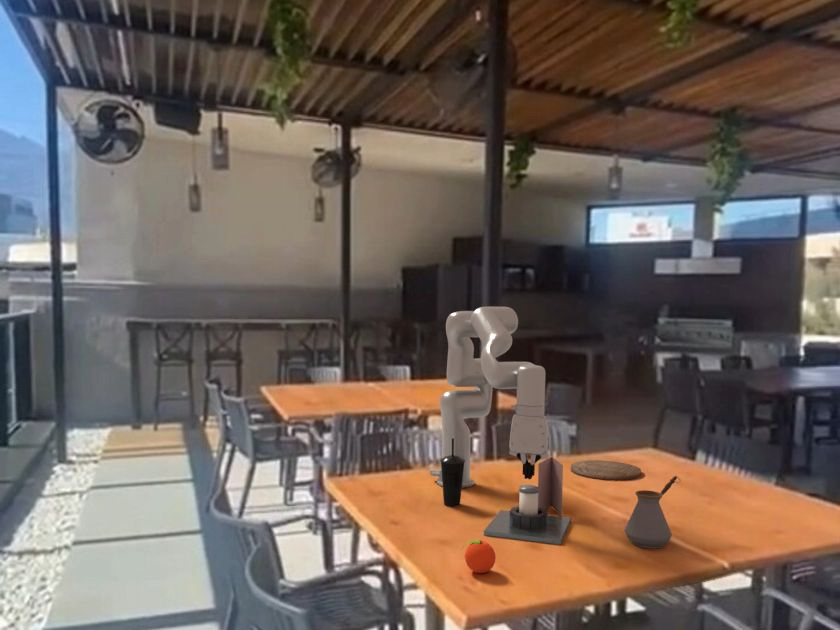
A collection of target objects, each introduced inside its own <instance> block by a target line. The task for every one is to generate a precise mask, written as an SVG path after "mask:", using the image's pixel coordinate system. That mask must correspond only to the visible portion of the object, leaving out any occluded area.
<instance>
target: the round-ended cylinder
mask: <svg viewBox="0 0 840 630" xmlns="http://www.w3.org/2000/svg"><path fill="white" fill-rule="evenodd" d="M518 488H519V489H518V490H519V497H518V498H519V500H518V501H519V502H518V503H519V505H518V506H519V513H520V514H524V515H538V492H539V487H538V485H533V484H521V485H519V487H518Z"/></svg>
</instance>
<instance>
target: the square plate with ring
mask: <svg viewBox="0 0 840 630" xmlns="http://www.w3.org/2000/svg"><path fill="white" fill-rule="evenodd" d="M571 522H572V518H571V517H567V516H566V517H565V516H562V517H561V516H560V515H558V516H557V515H549V511H548V510H547V509H546V510H545V509H543V508H539V507H538V515H524V514H520V513H519V505H518V506H514V507H513V506H512V507H511V508H510V509H509V510H505V509H500V511H499V512H498V513H497V514H496V515H495V516H494V518H493V519H492V520H491V521H490V522H489V524H488V525H487V526H486V527H485V528H484V530H483V536H486V537H494V538H501V539H502V538H503V539H510V540H519V541H526V542H527V541H528V542H533V543H534V542H535V543H543V544H550V545H559V546H560V545H561V544H562V542H563V540H564V538H565V536H566V534H567V531H568V530H569V527H570V525H571Z"/></svg>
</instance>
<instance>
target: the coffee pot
mask: <svg viewBox="0 0 840 630" xmlns="http://www.w3.org/2000/svg"><path fill="white" fill-rule="evenodd" d="M677 479H678V480H679V481H676V480H677ZM680 482H682V481H681V478H679V477H678V476H677V475H674V476H672V478H671V479H670V480H669V482H667V483H666V484H665V486H664V487H663V489H662V490H661V491H660V492H658V491H654V490H636V491H635V496H636V497H637V502H636V504H635V507H634V509H633V511H632V513H631V515H630V518H629V520H628V521H627V524H626V526H625V528H624V532H625V535H626V537H627V538H628V539H629V541H631V542H632V544H633V545H635V546H637V547H640V548H646V549H660V548H663V547H664V546H665V545H666V544H667V543H669V542H670V540H671V538H672V535H673V534H672V532H671V529H670V526H669V525H668V522H667V519H666V517H665V514H664V511H663V509H662V507H661V503H660V500H661V498H662V497H663V496H664V495H665V494H666V493H667V492H668V491H669V490H670V489H671V487H672V485H673V484H675V483H677V484H679V483H680Z"/></svg>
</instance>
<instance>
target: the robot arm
mask: <svg viewBox="0 0 840 630" xmlns="http://www.w3.org/2000/svg"><path fill="white" fill-rule="evenodd" d="M518 325H519V317H518V314H517V313H516V312H515V310H514V309H513V308H511V307H508V306H480V307H478V308H476V309H475V310H460V311H455V312H452V313H450V314H449V315H448V317H447V318H446V322H445V332H446V333H445V334H446V337H447V344H448V349H447V363H446V382H447V383H448V385H449V386H450V387H454V388H472V387H473V388H474V387H475V389H454V390H453V389H452V390H448V391H445V392H443V394H441V396H440V398H439V407H440V409H439V410H440V414H441V429H442V431H441V435H442V436H441V438H442V440H441V458H443V457H445V456H449V455H452V438H453V439H454V455H456V456H459V457H461V458H463V459H465V462H464V470H463V480H462V489H464V488H465V487H466V488H471V487H472V485H473V486H474V485H475V479H473V478H471V430H470V428H469V427H468V425H467V424H466V423H467V422H465V419H474V418H475V419H476V418H484V417H486V416H488V415H489V413H490V412H491V407H492V399H493V388H494V389H497V390H507V389H509V390H511V389H516V403H515V404H514V405H512V404H511V406H510V411H514V412H515V414H513V416H512V419H511V425H510V433H509V445H508V446H509V452H508V453H509V455H511V456H513V457H516V458H517V459H518V460H519V461H520V463H521V464H522V476H524V478H523V479H525V480H527V479H528V480H532V478H533V476H535V473H536V472H535V467H536V463H537V462H538V461H540V460H543V459H545V460H546V459H548V458H550V453H549V445H550V439H549V438H550V437H549V424H548V419H547V415H545V399H546V396H545V395H546V369H545V368H544V366H542V365H537V364H534V363H532V362H529V361H498V360H497V359H496V358H498V357H500V356H502V355H504V354H505V353H506V352H507V351H509V350H510V348H511V347H512V344H513V337H512V334H513V333H515V332H516V331H517V329H518ZM471 338H479V339H480V341H481V343H482V345H483V346H484V347H483V349H482V350H481V354H480V358H478V357H477V358H474V352H475V347H474V343H473V340H472V339H471ZM528 455H530V460H529V459H528ZM429 472H430V475H431V476H432V477H438V478H437V479H436V484H437V485H438V486H441V487H443V484H442V470H441V468H439V469H435V468H430V471H429Z"/></svg>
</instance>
